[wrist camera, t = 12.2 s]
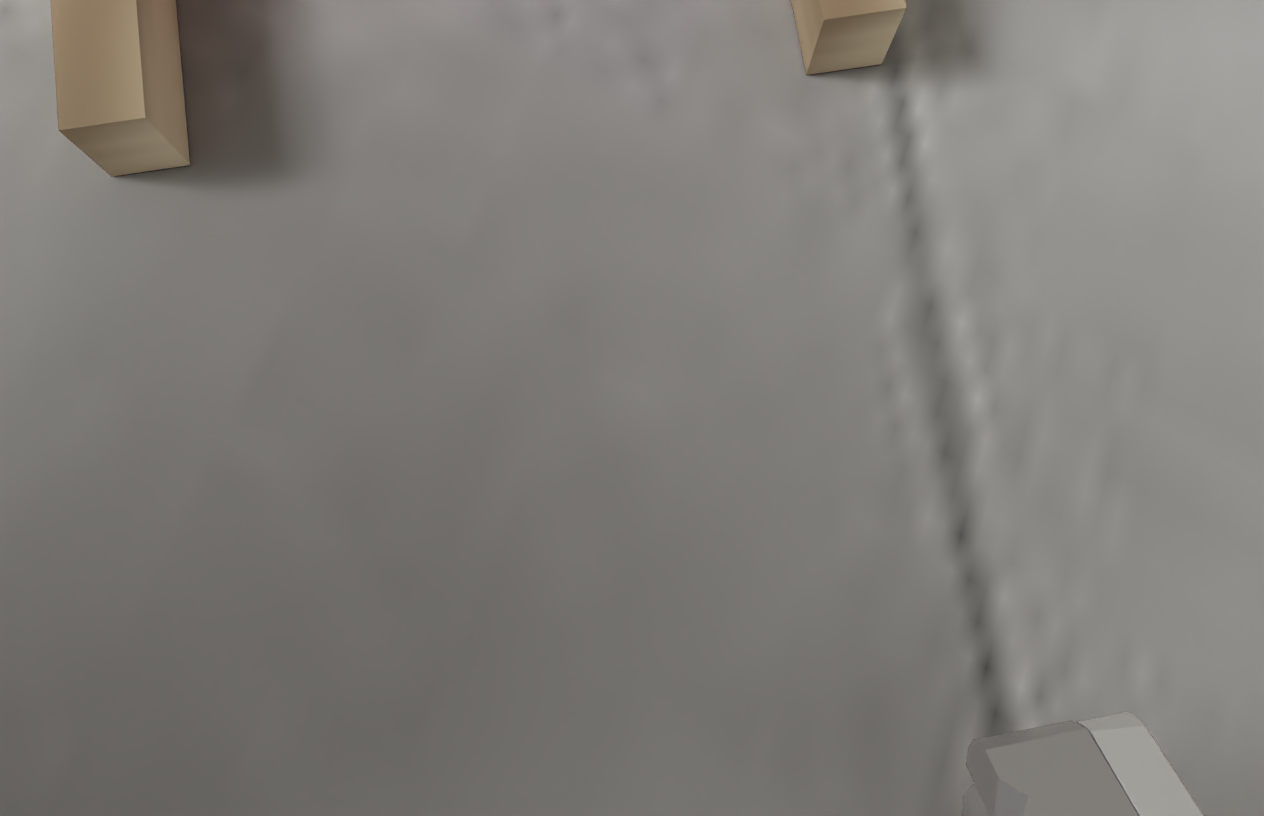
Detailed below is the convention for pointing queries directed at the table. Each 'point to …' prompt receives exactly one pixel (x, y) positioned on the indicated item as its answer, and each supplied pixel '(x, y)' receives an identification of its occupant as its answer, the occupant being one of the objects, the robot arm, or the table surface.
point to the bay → (153, 84)
